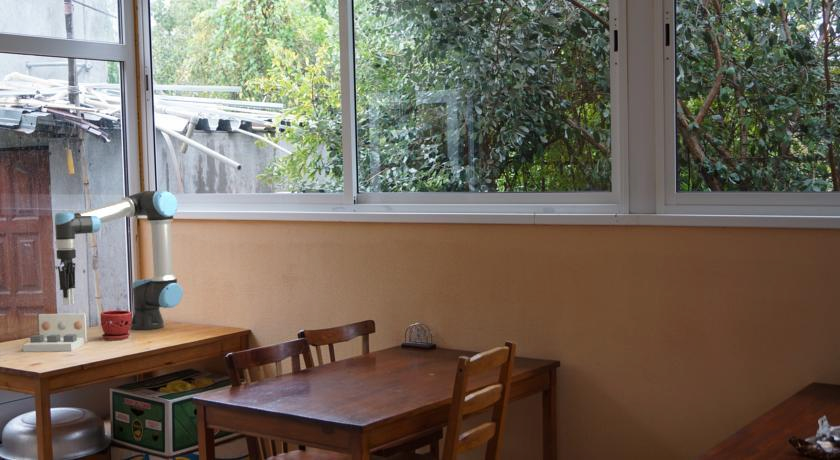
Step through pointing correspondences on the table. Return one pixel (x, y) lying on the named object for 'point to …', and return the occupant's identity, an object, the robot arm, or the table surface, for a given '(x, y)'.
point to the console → (52, 345)
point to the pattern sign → (63, 324)
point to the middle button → (53, 338)
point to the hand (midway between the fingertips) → (68, 304)
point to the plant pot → (116, 324)
